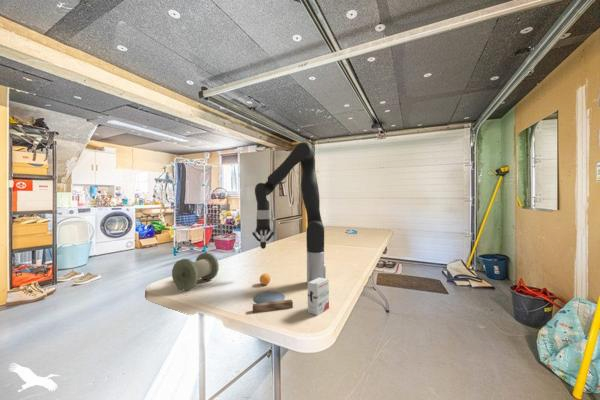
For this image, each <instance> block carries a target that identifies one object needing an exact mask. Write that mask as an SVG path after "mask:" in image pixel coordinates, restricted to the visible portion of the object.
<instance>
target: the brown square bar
mask: <svg viewBox="0 0 600 400" xmlns="http://www.w3.org/2000/svg"><path fill="white" fill-rule="evenodd" d="M293 303H294V302H293V300H292V299H286V300H285V299H284V300H283V301H275V302H266V303H253V304H252V314H255V313H264V312H270V311H277V310H285V309H291V308H292V309H293V306H294V305H293Z"/></svg>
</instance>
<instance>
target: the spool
mask: <svg viewBox="0 0 600 400" xmlns="http://www.w3.org/2000/svg"><path fill="white" fill-rule="evenodd" d="M219 266H220V265H219V262H218V258H217V257H216V256H215V255H214V254H213V253H211V252H203V253H200V254H198V256H197V257H196V258H195V261H192V260H190V259H189V258H182V259H180V260H177V261H176V262H175V263H174V265H173V267H172V270H171V271H172V272H171V277H172V281H173V283H174V285H175V287H177V288H178V289H179V290H181V289H184V290H183V291H189V290H191V289H193V288H194V287H195V286H197V282H198V280H199V279H201V278H202V279H201V280H203V279H207V280H206V281H210V280H213V279H215V277H216V276H217V275H218V272H219V269H220V267H219Z"/></svg>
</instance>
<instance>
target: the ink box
mask: <svg viewBox="0 0 600 400" xmlns="http://www.w3.org/2000/svg"><path fill="white" fill-rule="evenodd" d="M329 281H330V280H329V279H328V278H326V279H325V278H320V277H319V278H317V279H315V280H312V281H310V282H308V284H307V312H308V313H310V314H312V315H315V316H319V315H321V314H322V313H324V312H325V311H327V310H328V309H329V308H330V289H329V288H330V285H329ZM326 309H327V310H326ZM323 311H324V312H323ZM320 313H321V314H320Z"/></svg>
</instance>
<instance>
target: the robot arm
mask: <svg viewBox="0 0 600 400" xmlns="http://www.w3.org/2000/svg"><path fill="white" fill-rule="evenodd" d="M314 151H315V150H314V149H313V147H312V146H311V145H310V144H309V143H307V142H299V143H298V144H297V145H296V146H295V147H294V148H293V149H292V151H291V152H290V153H289V155H287V157H286V158H285V160H283V162H282V163H281V164H279V166H278V167H277V168H276V169H275V170H273V171H272V172H271V173H270V174H269V175H268V176H267V181H265V183H264V182H258V183H257V184H256V185H255V188H254V195H255V200H256V228H255V230H254V231H252V232H251V234H252V236H253V237H254V239H255V240H257V242H260V245H259V247H260V248H261V249H266V247H267V242H269V241H270V240H271V238H273V236H274V235H275V232H274V231H273V230H272V229H271V225H270V224H271V211H270V201H269V199H268V198H267V197H268V196H270V195H271V193H273V191H274V190H275V189H276V188H277V186H278V185H279V184H280V183H281V182H283V181H284V180H285V178H286V177H288V175H289V174H290V172H291V171H292V170H293V168H294V167H295V166H296V165H298V164H299V163H300V167H301V179H300V189H301V191H300V192H301V196H302V201H303V202H302V203H303V205H304V208H305V212H306V218H307V225H306V226H307V227H306V285H308V282H310V281H312V280H315V279H317V278H319V277H320V278H325V279H327V276H326V272H327V271H326V270H327V269H326V267H327V266H326V265H325V227H324V224H323V221H322V216H321V210H320V208H321V207H320V206H321V205H320V204H321V203H320V191H319V184H318V179H317V173H316V169H315V152H314ZM257 234H258V235H257ZM258 236H259V237H258Z"/></svg>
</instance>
